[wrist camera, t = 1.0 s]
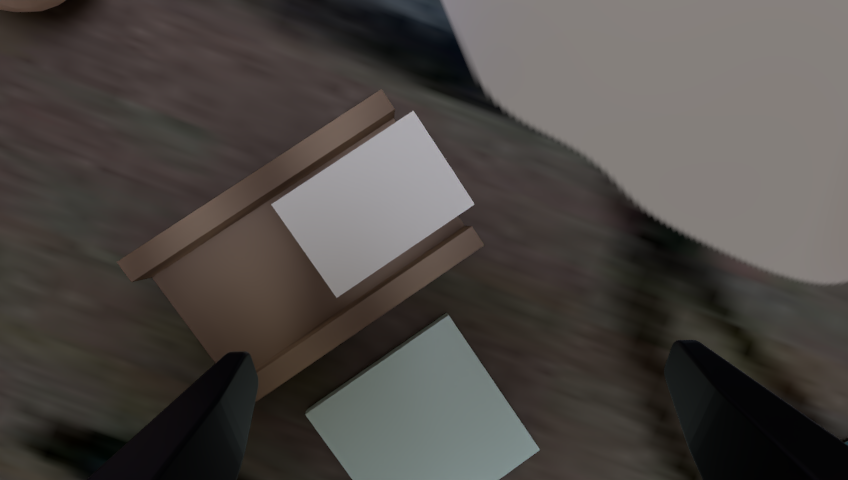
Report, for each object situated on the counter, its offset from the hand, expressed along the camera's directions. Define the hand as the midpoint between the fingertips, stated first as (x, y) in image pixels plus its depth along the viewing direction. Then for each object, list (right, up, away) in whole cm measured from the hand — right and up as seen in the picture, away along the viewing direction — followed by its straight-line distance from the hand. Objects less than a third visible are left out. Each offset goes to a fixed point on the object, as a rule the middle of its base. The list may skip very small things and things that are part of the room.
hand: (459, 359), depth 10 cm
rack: (-5, +2, +12) cm, 13 cm away
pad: (-1, -6, +13) cm, 14 cm away
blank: (-3, +4, +12) cm, 13 cm away
